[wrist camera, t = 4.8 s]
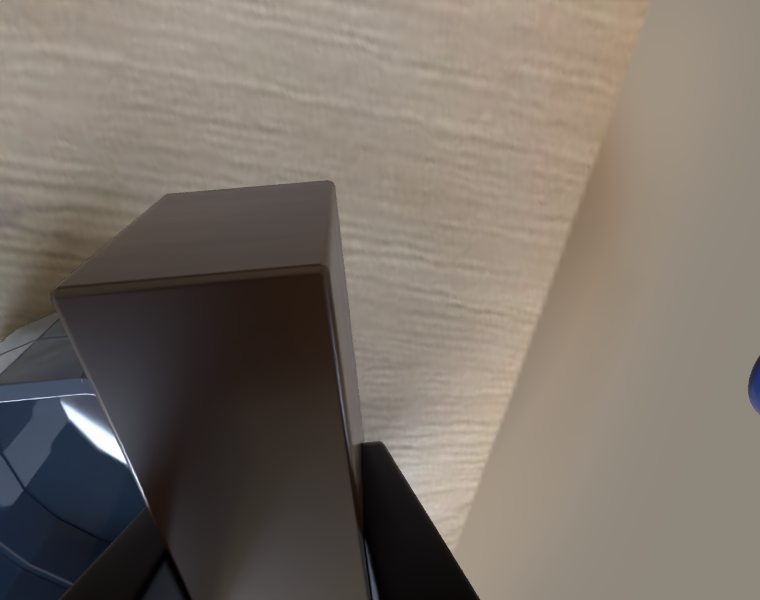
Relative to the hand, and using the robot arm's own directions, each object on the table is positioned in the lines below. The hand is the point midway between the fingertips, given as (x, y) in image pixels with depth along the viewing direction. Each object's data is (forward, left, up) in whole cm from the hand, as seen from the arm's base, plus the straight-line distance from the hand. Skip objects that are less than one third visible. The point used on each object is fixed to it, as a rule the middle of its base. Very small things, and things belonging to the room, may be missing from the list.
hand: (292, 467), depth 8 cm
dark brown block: (0, 0, -1) cm, 1 cm away
